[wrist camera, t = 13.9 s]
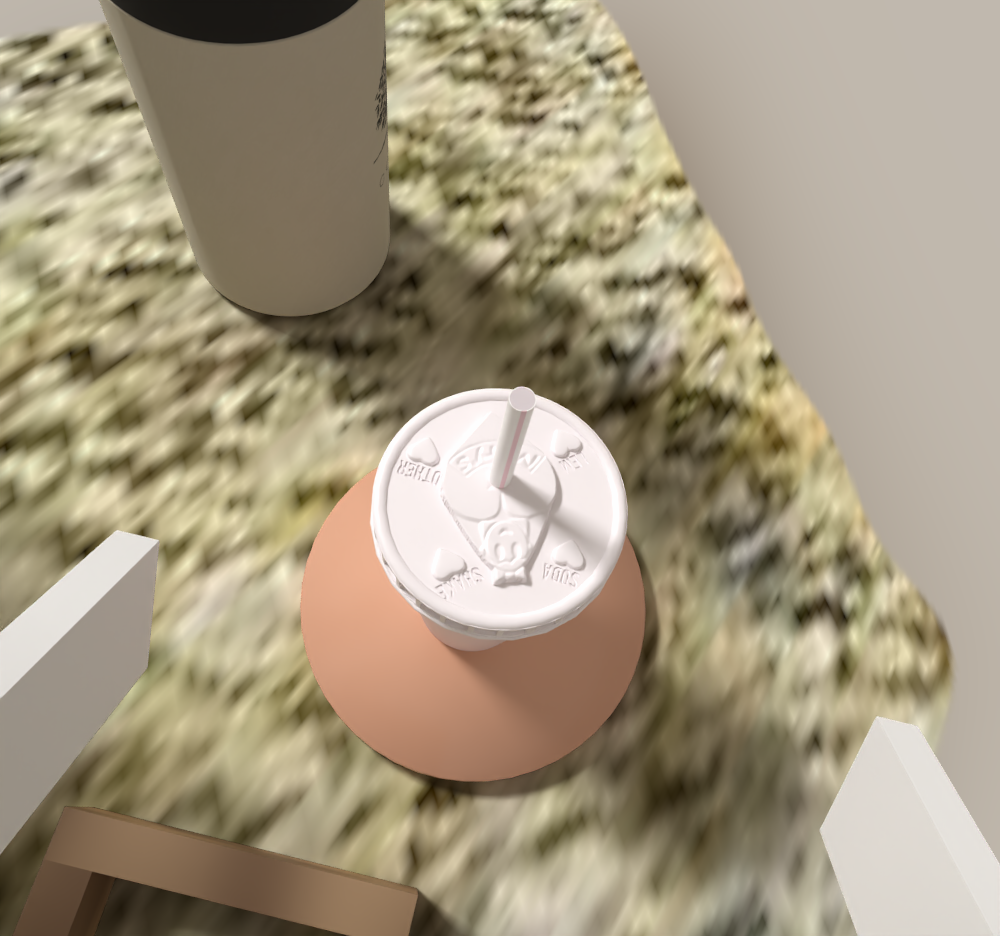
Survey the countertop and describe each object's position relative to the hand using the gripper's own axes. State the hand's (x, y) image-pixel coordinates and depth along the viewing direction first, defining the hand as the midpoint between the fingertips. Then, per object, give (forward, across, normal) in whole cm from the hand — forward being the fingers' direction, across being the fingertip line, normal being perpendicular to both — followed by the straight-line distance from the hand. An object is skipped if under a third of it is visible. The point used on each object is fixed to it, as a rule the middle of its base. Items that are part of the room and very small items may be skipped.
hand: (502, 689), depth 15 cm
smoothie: (+13, -1, -6) cm, 14 cm away
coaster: (+14, 0, -6) cm, 15 cm away
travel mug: (+23, -11, +3) cm, 26 cm away
